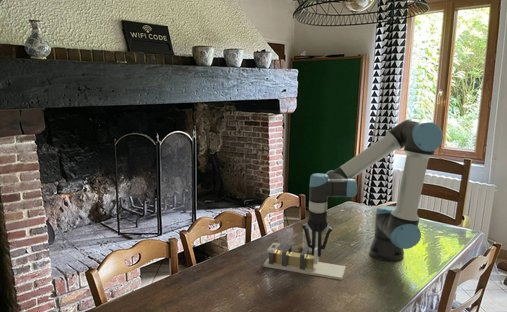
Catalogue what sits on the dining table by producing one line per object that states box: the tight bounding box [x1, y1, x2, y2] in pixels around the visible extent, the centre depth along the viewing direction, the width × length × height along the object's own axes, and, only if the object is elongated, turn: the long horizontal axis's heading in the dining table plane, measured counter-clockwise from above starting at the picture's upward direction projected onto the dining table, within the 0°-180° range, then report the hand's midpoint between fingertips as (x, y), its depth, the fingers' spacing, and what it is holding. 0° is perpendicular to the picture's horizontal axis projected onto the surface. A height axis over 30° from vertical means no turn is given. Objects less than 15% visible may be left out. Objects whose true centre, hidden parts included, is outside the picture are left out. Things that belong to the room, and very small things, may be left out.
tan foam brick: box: [274, 248, 315, 269], centre depth 172 cm, size 20×4×4 cm, turn 69°
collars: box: [266, 242, 310, 270], centre depth 172 cm, size 17×8×6 cm, turn 69°
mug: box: [302, 226, 318, 254], centre depth 189 cm, size 12×9×11 cm
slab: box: [263, 257, 347, 281], centre depth 170 cm, size 34×11×1 cm, turn 69°
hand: (316, 262), depth 168 cm, fingers closed
